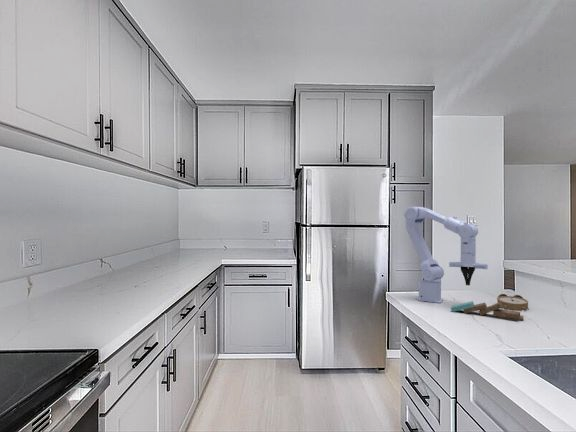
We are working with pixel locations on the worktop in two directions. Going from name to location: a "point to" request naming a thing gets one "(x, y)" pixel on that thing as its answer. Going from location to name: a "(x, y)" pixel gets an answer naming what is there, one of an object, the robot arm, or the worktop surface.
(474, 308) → the domino
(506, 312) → the domino
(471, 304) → the teal domino
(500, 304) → the domino
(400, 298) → the worktop surface
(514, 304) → the alarm clock
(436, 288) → the robot arm
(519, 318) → the domino
